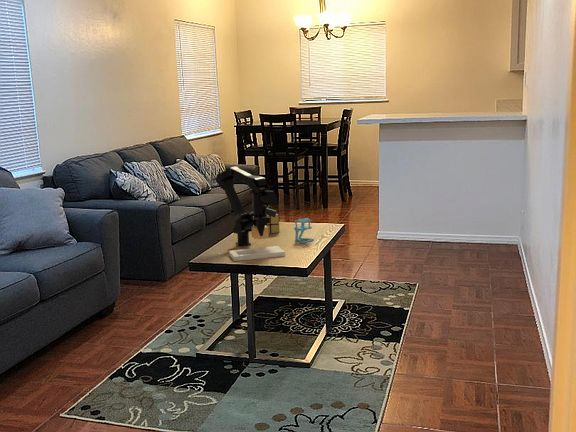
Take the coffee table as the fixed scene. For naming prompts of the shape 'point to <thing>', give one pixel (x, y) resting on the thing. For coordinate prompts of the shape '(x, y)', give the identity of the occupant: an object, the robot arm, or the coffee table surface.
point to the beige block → (256, 234)
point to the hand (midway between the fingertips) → (260, 234)
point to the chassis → (256, 253)
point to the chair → (302, 230)
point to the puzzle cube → (273, 224)
